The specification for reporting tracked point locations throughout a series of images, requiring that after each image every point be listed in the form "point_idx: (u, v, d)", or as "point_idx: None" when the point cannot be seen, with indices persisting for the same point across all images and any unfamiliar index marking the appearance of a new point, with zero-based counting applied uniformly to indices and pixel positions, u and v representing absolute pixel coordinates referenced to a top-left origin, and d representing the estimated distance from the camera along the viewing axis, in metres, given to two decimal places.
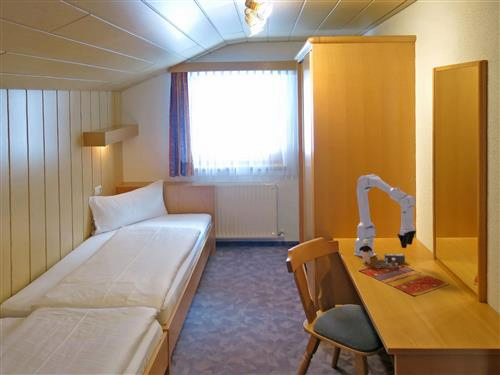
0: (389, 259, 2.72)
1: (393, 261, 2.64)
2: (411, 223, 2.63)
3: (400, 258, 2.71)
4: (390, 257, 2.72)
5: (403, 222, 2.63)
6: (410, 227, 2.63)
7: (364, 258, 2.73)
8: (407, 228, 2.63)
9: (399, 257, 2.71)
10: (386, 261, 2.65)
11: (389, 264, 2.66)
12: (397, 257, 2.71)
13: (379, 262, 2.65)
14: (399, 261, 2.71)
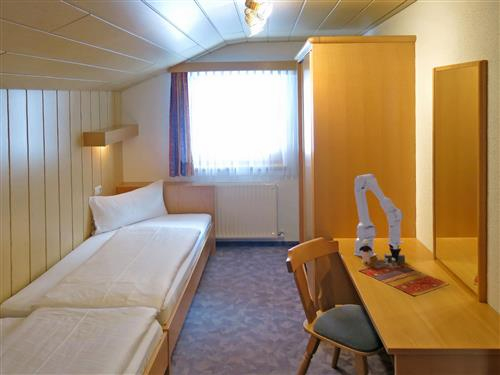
0: (389, 259, 2.72)
1: (393, 261, 2.64)
2: (400, 236, 2.70)
3: (400, 258, 2.71)
4: (390, 257, 2.72)
5: (393, 236, 2.69)
6: (399, 240, 2.69)
7: (364, 258, 2.73)
8: (397, 242, 2.69)
9: (399, 257, 2.71)
10: (386, 261, 2.65)
11: (389, 264, 2.66)
12: None
13: (379, 262, 2.65)
14: (399, 261, 2.71)
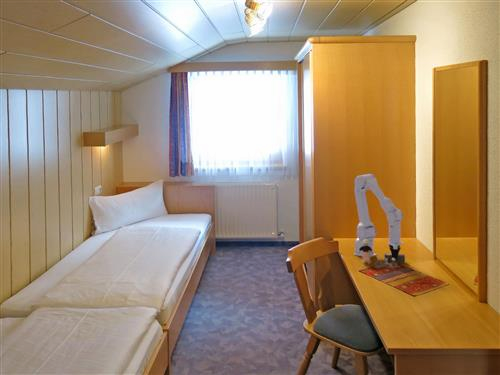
0: (389, 259, 2.72)
1: (393, 261, 2.64)
2: (400, 236, 2.70)
3: (400, 258, 2.71)
4: (390, 257, 2.72)
5: (393, 236, 2.69)
6: (399, 240, 2.69)
7: (364, 258, 2.73)
8: (397, 242, 2.69)
9: (399, 257, 2.71)
10: (386, 261, 2.65)
11: (389, 264, 2.66)
12: None
13: (379, 262, 2.65)
14: (399, 261, 2.71)
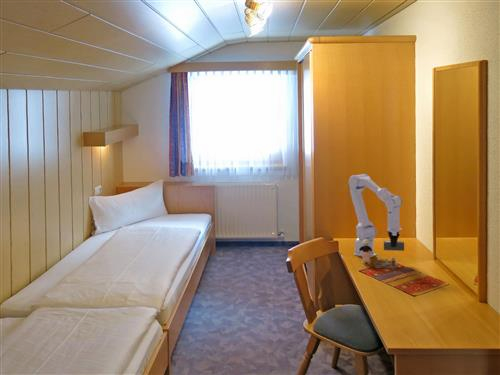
0: (388, 246, 2.70)
1: (393, 261, 2.64)
2: None
3: (399, 245, 2.69)
4: (389, 244, 2.70)
5: (392, 223, 2.67)
6: (398, 227, 2.67)
7: (364, 258, 2.73)
8: (396, 228, 2.67)
9: (398, 244, 2.69)
10: (386, 261, 2.65)
11: (389, 264, 2.66)
12: (396, 244, 2.69)
13: (379, 262, 2.65)
14: (398, 248, 2.69)
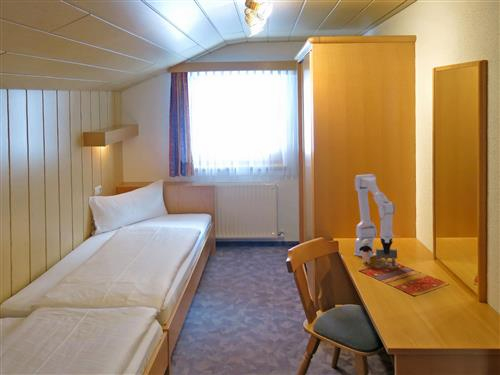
0: (381, 254, 2.65)
1: (393, 261, 2.64)
2: (391, 230, 2.62)
3: (392, 253, 2.64)
4: (382, 252, 2.65)
5: (384, 229, 2.61)
6: (391, 234, 2.62)
7: (364, 258, 2.73)
8: (389, 235, 2.62)
9: (391, 252, 2.64)
10: (386, 261, 2.65)
11: (389, 264, 2.66)
12: (389, 252, 2.64)
13: (379, 262, 2.65)
14: (391, 256, 2.64)
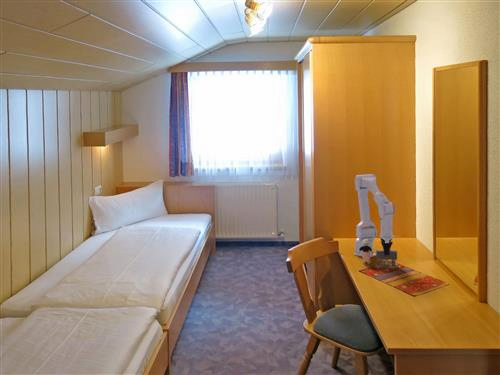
0: (381, 255, 2.65)
1: (393, 261, 2.64)
2: (391, 230, 2.62)
3: (392, 254, 2.64)
4: (382, 253, 2.65)
5: (384, 230, 2.62)
6: (391, 234, 2.62)
7: (364, 258, 2.73)
8: (389, 235, 2.62)
9: (391, 253, 2.64)
10: (386, 261, 2.65)
11: (389, 264, 2.66)
12: (389, 253, 2.64)
13: (379, 262, 2.65)
14: (391, 257, 2.64)
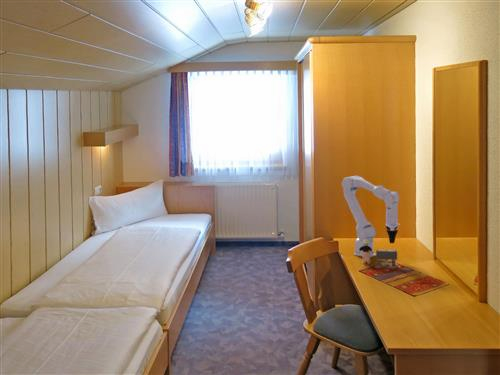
0: (381, 255, 2.65)
1: (393, 261, 2.64)
2: (397, 218, 2.71)
3: (392, 254, 2.64)
4: (382, 253, 2.65)
5: (390, 218, 2.71)
6: (396, 222, 2.71)
7: (364, 258, 2.73)
8: (394, 223, 2.71)
9: (391, 253, 2.64)
10: (386, 261, 2.65)
11: (389, 264, 2.66)
12: (389, 253, 2.64)
13: (379, 262, 2.65)
14: (391, 257, 2.64)
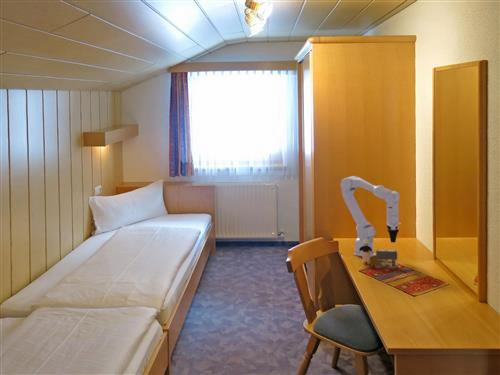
0: (381, 255, 2.65)
1: (393, 261, 2.64)
2: (397, 217, 2.73)
3: (392, 254, 2.64)
4: (382, 253, 2.65)
5: (391, 217, 2.72)
6: (397, 221, 2.72)
7: (364, 258, 2.73)
8: (395, 223, 2.72)
9: (391, 253, 2.64)
10: (386, 261, 2.65)
11: (389, 264, 2.66)
12: (389, 253, 2.64)
13: (379, 262, 2.65)
14: (391, 257, 2.64)
